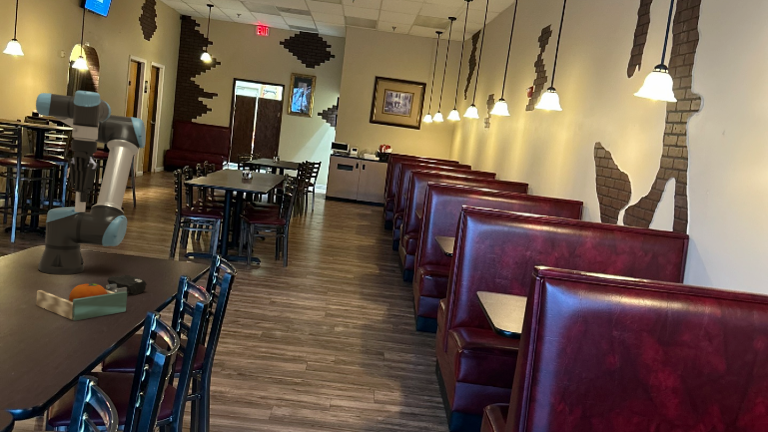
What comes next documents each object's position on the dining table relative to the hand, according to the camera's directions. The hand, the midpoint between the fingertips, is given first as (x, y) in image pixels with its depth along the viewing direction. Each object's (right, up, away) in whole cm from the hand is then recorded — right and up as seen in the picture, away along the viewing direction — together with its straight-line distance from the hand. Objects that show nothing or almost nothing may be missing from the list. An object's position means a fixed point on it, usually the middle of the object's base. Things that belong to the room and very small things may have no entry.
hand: (80, 211), depth 212 cm
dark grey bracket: (+14, -29, -6) cm, 33 cm away
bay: (+8, -29, -15) cm, 34 cm away
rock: (+12, -28, +8) cm, 31 cm away
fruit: (+10, -30, -17) cm, 36 cm away
